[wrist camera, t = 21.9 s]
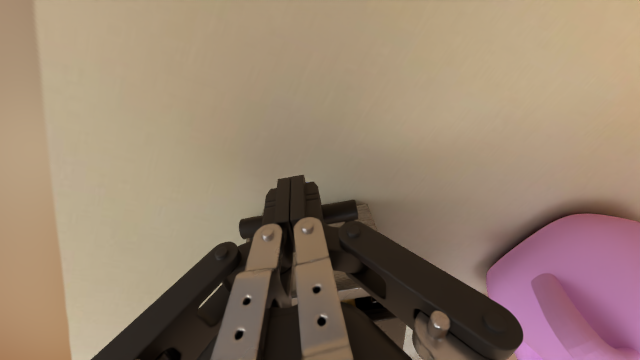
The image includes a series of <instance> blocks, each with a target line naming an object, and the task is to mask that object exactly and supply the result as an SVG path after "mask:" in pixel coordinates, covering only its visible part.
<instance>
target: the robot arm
mask: <svg viewBox="0 0 640 360" xmlns="http://www.w3.org/2000/svg"><path fill="white" fill-rule="evenodd" d="M293 252H296V265H295V278H296V290H297V302H298V304H296V305H294V306H292V289H293V277H294V262H293ZM333 270H334V271H340V272H345V274H346V275H347V276H348V277H349V278H350V279H351V280H353V281H354V282H355V283H356V284H357V285H359V286H360V287H361V288H362V289H363V290H365V291H366V292H367V293H368V294H370V295H371V296H372V297H373V298H374V299H376V300H377V301H378V302H379V303H380V304H382V305H383V306H384V307H385V308H387V309H388V310H389V311H390V312H391V313H393V314H394V315H395V316H396V317H398V318H399V319H400V320H401V321H402V322H404V323H405V324H406V325H407V326H408V327H410V328H411V329H412V330H413V334H412V341H413V345H414V348H415V350H416V352H417V353H418V354H419V356H420V357H421V358H422V359H423V360H507V359H508V358H509V357H510V356H511V355H512V354H513V353H514V352H515V350H516V349H517V348H518V347H519V346H520V345H521V343H522V341H523V330H522V327H521V325H520V323H519V321H518V320H517V319H516V317H515V316H514V315H513V314H512V313H511V312H510V311H509V310H508V309H506V308H505V307H503V306H502V305H500V304H498V303H497V302H495V301H493V300H492V299H490V298H488V297H487V296H485V295H483V294H482V293H480V292H478V291H477V290H475V289H473V288H471V287H470V286H468V285H466V284H465V283H463V282H461V281H460V280H458V279H456V278H455V277H453V276H451V275H450V274H448V273H446V272H445V271H443V270H441V269H439V268H438V267H436V266H434V265H433V264H431V263H429V262H428V261H426V260H424V259H423V258H421V257H419V256H418V255H416V254H414V253H413V252H411V251H409V250H407V249H406V248H404V247H402V246H401V245H399V244H397V243H396V242H394V241H392V240H391V239H389V238H387V237H386V236H384V235H382V234H380V233H379V232H377V231H375V230H374V229H372V228H370V227H369V226H367V225H365V224H364V223H362V222H359V221H350V222H346V223H345V224H343V225H342V226H341V227H340V228H339V227H332V226H329V225H327V224H326V223H325V222H324V220H323V213H322V205H321V200H320V195H319V190H318V186H317V185H316V184H315V183H314V182H308V183H306V182H305V178H304V175H299V176H293V177H288V178H282V179H278V183H277V188H274V189H270V191H269V192H268V194H267V195H266V200H265V208H264V213H263V220H262V226H261V227H260V228H259V229H258V230H257V231H256V233H255V234H254V237H253V239H252V240H251V241H249V242H247V243H245V244H242V245H240V246H238V247H237V245H236V244H235V243H233V242H224V243H221V244H219V245H217V246H216V247H215V248H213V249H212V250H211V251H210V252H209V253H208V254H207V255H206V256H205V257H203V258H202V259H201V260H200V261H199V262H198V263H197V264H196V265H195V266H194V267H192V268H191V269H190V270H189V271H188V272H187V273H186V274H185V275H184V276H183V277H181V278H180V279H179V280H178V281H177V282H176V283H175V284H174V285H173V286H172V287H170V288H169V289H168V290H167V291H166V292H165V293H164V294H163V295H162V296H160V297H159V298H158V299H157V300H156V301H155V302H154V303H153V304H152V305H151V306H149V307H148V308H147V309H146V310H145V311H144V312H143V313H142V314H141V315H140V316H138V317H137V318H136V319H135V320H134V321H133V322H132V323H131V324H130V325H129V326H127V327H126V328H125V329H124V330H123V331H122V332H121V333H120V334H119V335H118V336H116V337H115V338H114V339H113V340H112V341H111V342H110V343H109V344H108V345H107V346H105V347H104V348H103V349H102V350H101V351H100V352H99V353H98V354H97V355H96V356H94V357H93V358H92V359H91V360H412V359H411V358H410V357H409V356H408V355H407V354H406V353H405V352H404V351H403V350H402V349H401V348H400V347H399V346H398V345H397V344H396V343H395V342H394V341H393V340H392V339H391V338H390V337H389V336H388V335H387V334H386V333H385V332H383V331H382V330H381V329H380V328H379V327H378V326H377V325H376V324H375V323H374V322H373V321H372V320H371V319H370V318H369V317H368V316H367V315H366V314H365V313H363V312H362V311H361V310H359V309H358V308H356V307H354V306H353V305H350V304H348V303H344V302H340V300H339V295H338V291H337V287H336V282H335V278H334V274H333ZM221 283H222V285H221V286H220V287H219V288H218V290H217V291H216V292H215V293H214V294H213V295H212V296H211V297H210V298H209V299H208V300H207V301H206V302H205V303H204V304H203V305H202V306H201V307H200V308H199V306H200V305H201V303H202V302H203V301H204V300H205V299H206V298H207V297H208V296H209V295H210V294H211V293H212V292H213V291H214V290H215V289H216V288H217V287H218V286H219V285H220V284H221ZM198 308H199V309H198Z"/></svg>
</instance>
